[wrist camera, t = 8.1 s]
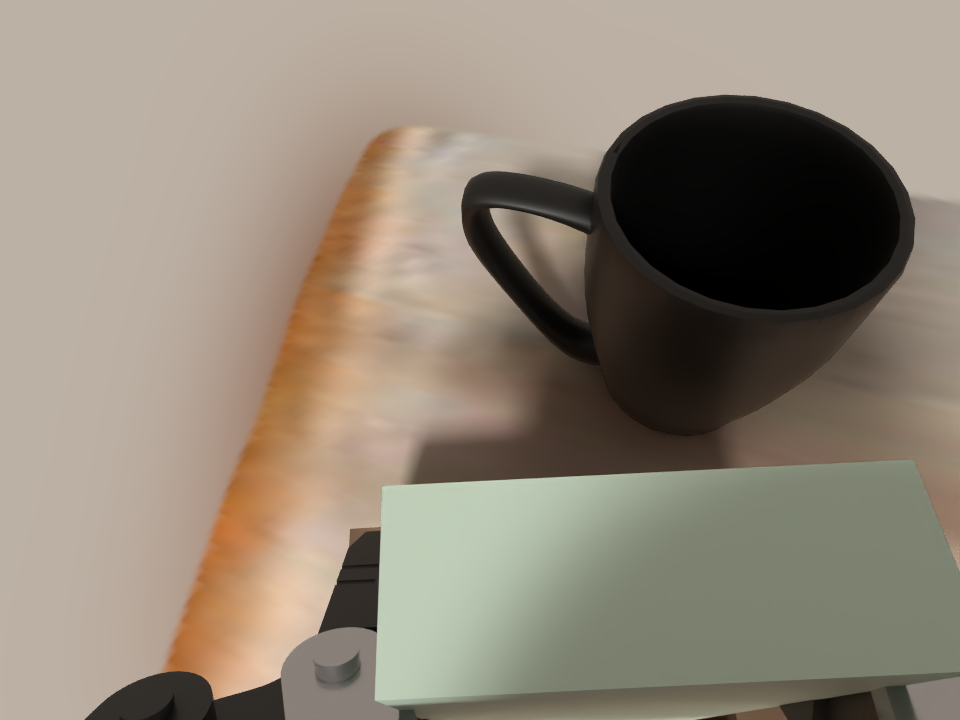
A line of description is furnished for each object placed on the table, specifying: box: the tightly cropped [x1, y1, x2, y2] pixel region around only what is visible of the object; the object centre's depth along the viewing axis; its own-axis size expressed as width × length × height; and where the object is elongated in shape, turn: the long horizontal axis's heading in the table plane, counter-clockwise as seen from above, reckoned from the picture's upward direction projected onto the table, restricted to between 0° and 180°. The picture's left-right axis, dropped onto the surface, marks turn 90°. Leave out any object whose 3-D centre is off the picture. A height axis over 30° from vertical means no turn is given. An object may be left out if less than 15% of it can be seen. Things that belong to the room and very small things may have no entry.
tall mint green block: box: [375, 459, 960, 720], centre depth 10 cm, size 5×2×10 cm, turn 93°
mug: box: [461, 95, 915, 435], centre depth 22 cm, size 8×12×10 cm
